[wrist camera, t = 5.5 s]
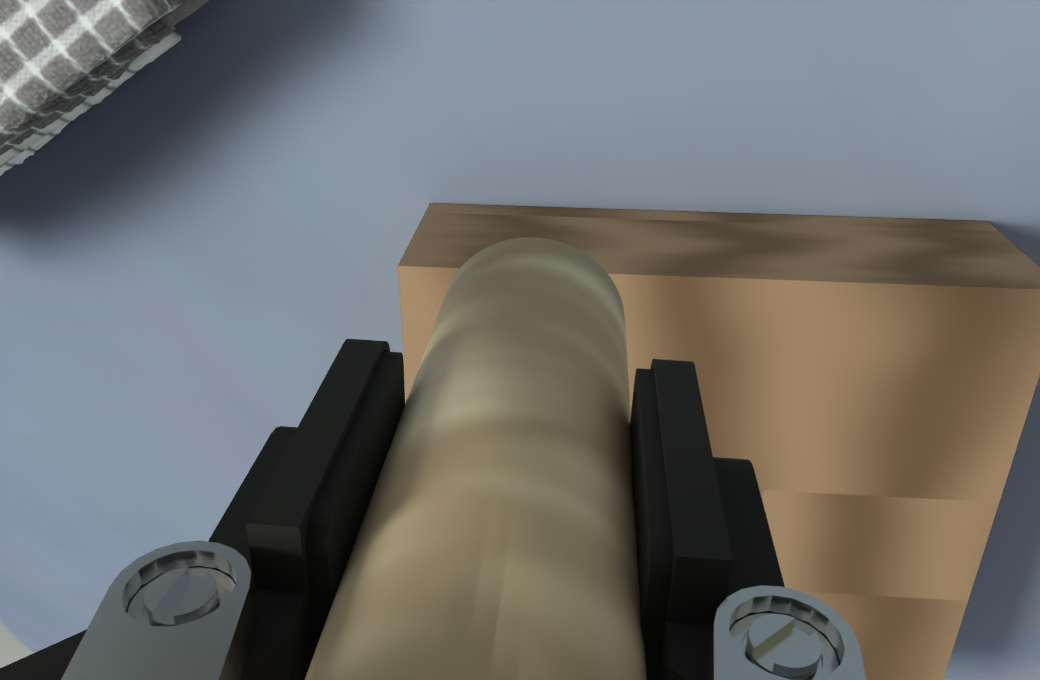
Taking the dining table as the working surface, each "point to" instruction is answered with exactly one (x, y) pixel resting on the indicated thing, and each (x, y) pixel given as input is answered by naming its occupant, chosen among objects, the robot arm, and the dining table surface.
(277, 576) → the robot arm
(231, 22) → the dining table surface
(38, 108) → the towel
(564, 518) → the peg
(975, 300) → the bore block
